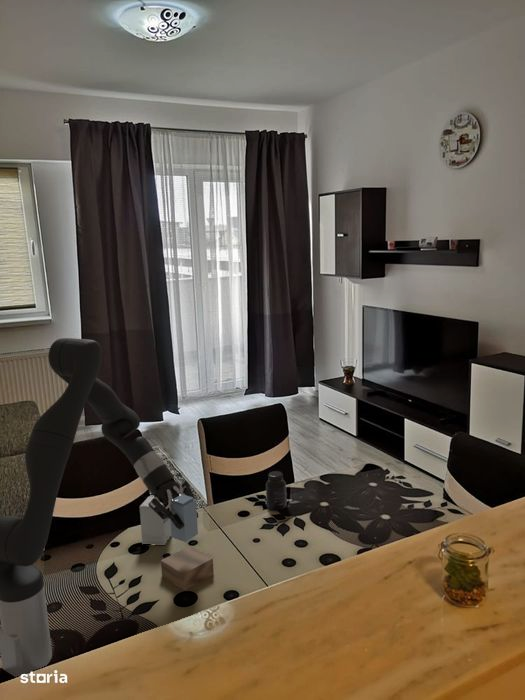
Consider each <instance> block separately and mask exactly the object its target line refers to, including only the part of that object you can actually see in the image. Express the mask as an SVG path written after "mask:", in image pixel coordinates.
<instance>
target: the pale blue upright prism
mask: <svg viewBox="0 0 525 700" xmlns="http://www.w3.org/2000/svg"><path fill="white" fill-rule="evenodd" d="M171 501H172V502H173V503H172V505H173V508H174V509H175V511H176V514H178V516H179V517H180V518H181V520H182V521H183V523H184V527H183V528H182V529H178V528H176V526H175V525H174V524H173V522H172V521H171V519H170V521H171V538H172V539H175V540H178V541H181V542H184V543H187V542H188V541H190V540H191V539H192V538H194V537H196V536H197V535H198V534H199V530H198V529H199V528H198V518H197V512H198V509H197V500H196V498H195V499H194V498H193V497H190V496H186V495H183V494H181V495H180V496H178V497H176V498H174V499H173V500H171Z"/></svg>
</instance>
